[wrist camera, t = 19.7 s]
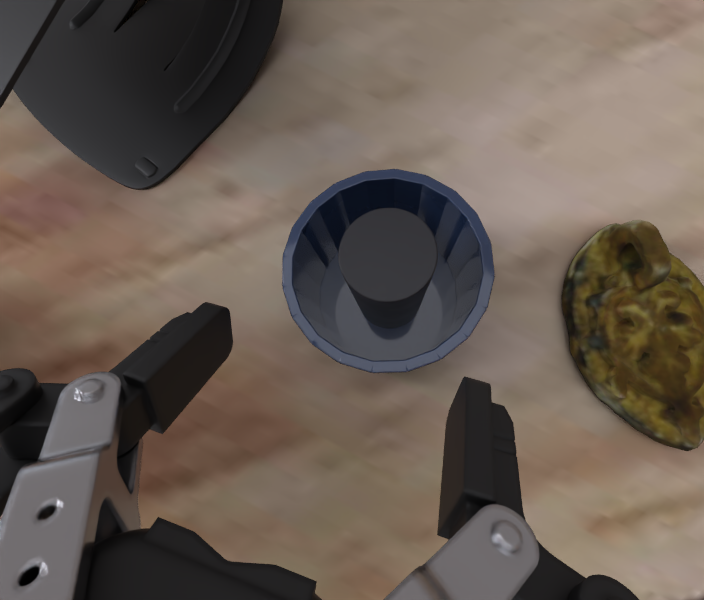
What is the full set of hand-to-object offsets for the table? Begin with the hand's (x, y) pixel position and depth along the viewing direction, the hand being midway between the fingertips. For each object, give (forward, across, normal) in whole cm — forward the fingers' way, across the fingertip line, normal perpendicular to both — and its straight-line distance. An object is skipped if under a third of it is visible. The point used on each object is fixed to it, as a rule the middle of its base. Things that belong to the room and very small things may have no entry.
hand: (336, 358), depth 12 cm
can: (+14, 0, +6) cm, 15 cm away
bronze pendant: (+15, -17, +5) cm, 24 cm away
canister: (+14, 0, +6) cm, 15 cm away
